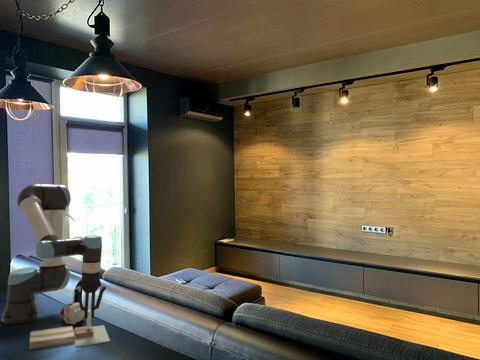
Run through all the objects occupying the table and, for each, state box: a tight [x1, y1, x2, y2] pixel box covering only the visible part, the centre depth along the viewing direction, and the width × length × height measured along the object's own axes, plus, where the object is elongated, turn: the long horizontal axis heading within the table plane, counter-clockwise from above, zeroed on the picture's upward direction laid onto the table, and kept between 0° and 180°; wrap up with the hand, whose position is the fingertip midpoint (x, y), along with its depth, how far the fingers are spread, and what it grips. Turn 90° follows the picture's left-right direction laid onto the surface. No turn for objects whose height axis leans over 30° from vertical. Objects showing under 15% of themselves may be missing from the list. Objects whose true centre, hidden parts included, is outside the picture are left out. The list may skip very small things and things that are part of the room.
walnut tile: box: [74, 325, 94, 340], centre depth 156 cm, size 7×7×2 cm
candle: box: [60, 301, 85, 325], centre depth 171 cm, size 9×11×15 cm
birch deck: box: [29, 325, 75, 350], centre depth 150 cm, size 12×16×2 cm
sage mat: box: [73, 325, 111, 348], centre depth 156 cm, size 18×13×1 cm
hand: (88, 325), depth 157 cm, fingers closed
